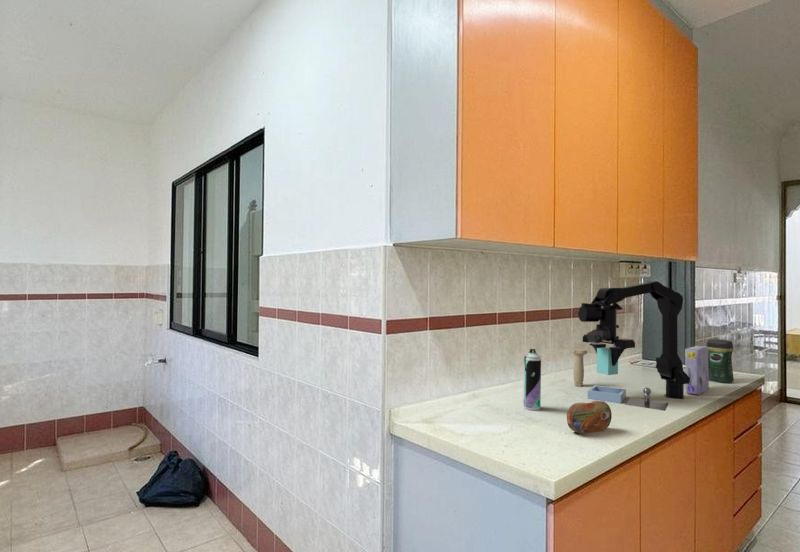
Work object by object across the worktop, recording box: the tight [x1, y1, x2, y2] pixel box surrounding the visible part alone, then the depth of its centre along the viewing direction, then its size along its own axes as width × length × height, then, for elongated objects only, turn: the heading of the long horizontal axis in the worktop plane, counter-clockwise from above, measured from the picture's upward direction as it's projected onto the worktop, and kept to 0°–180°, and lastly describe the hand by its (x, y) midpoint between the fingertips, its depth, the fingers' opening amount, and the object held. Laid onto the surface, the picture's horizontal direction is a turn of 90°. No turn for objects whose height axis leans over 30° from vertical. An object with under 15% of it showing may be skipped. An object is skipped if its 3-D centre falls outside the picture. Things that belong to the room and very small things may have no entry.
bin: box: [587, 384, 627, 404], centre depth 166 cm, size 11×11×4 cm
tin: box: [566, 400, 613, 435], centre depth 130 cm, size 15×3×8 cm, turn 114°
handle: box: [570, 347, 588, 387], centre depth 189 cm, size 5×6×15 cm
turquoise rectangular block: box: [596, 346, 619, 376], centre depth 167 cm, size 5×5×9 cm
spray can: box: [523, 348, 542, 411], centre depth 153 cm, size 6×6×20 cm
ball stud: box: [625, 387, 669, 412], centre depth 159 cm, size 12×12×6 cm
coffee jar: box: [706, 338, 734, 384], centre depth 203 cm, size 10×8×19 cm
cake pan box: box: [684, 345, 710, 396], centre depth 183 cm, size 19×5×18 cm, turn 135°
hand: (607, 364), depth 167 cm, fingers closed on turquoise rectangular block, 5 cm apart
